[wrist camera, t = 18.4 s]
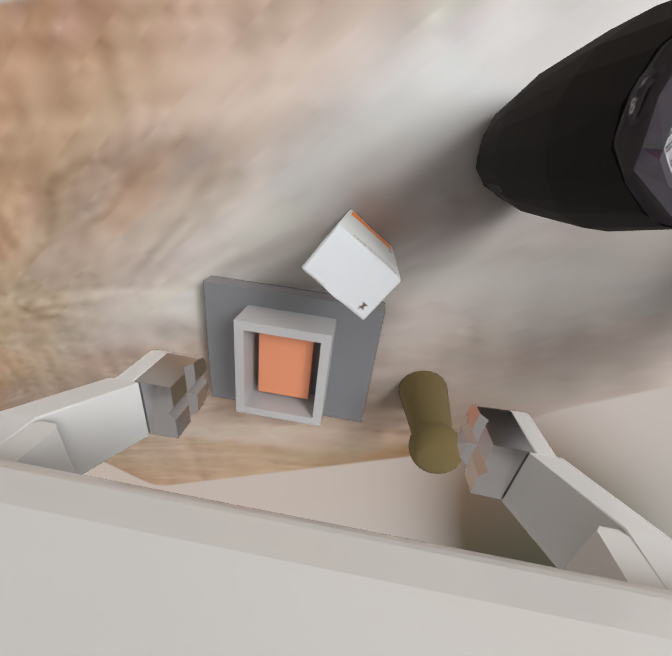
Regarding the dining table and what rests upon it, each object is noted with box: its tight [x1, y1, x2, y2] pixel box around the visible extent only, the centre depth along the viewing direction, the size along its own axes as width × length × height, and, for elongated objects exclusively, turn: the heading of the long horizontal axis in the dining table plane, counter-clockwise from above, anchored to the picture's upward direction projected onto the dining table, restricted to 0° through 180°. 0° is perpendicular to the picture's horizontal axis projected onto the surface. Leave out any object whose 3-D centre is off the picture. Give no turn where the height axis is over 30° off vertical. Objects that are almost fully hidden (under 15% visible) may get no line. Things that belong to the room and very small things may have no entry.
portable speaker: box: [476, 0, 672, 231], centre depth 18 cm, size 9×9×20 cm
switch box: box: [203, 276, 385, 426], centre depth 36 cm, size 20×16×6 cm
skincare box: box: [302, 209, 401, 320], centre depth 27 cm, size 6×4×12 cm
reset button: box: [258, 333, 316, 399], centre depth 36 cm, size 6×8×2 cm
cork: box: [399, 371, 461, 474], centre depth 35 cm, size 6×6×11 cm
